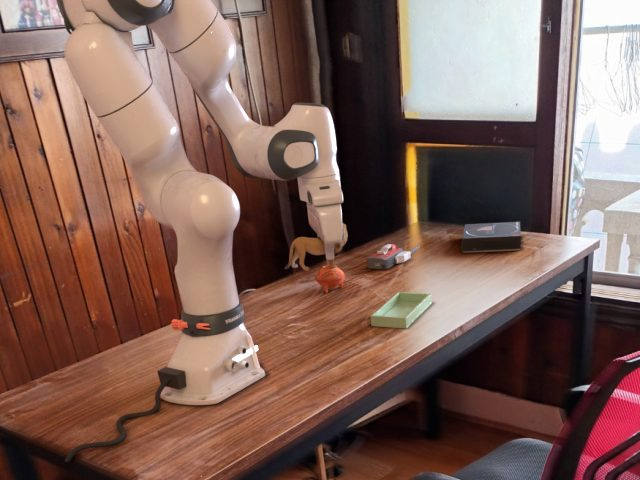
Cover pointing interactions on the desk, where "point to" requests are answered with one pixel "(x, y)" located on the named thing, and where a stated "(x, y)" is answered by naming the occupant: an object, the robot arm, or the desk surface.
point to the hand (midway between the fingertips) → (327, 255)
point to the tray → (401, 310)
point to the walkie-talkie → (389, 257)
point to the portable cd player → (491, 237)
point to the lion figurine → (313, 249)
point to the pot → (330, 277)
